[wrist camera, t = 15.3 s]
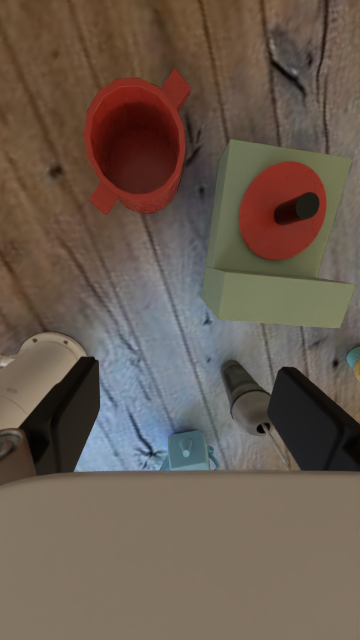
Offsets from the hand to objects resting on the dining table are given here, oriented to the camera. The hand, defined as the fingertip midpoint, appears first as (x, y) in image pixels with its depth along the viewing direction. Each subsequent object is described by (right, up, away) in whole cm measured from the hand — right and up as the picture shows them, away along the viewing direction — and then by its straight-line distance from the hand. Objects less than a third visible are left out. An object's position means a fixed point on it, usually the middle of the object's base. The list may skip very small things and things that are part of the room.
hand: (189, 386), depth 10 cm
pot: (-6, +26, +21) cm, 34 cm away
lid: (+14, +18, +18) cm, 29 cm away
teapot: (+1, -27, +39) cm, 47 cm away
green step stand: (+13, +17, +25) cm, 33 cm away
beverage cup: (+11, -7, +33) cm, 36 cm away
